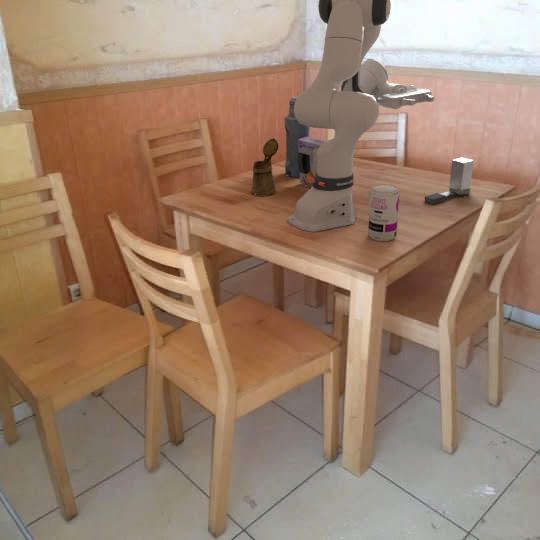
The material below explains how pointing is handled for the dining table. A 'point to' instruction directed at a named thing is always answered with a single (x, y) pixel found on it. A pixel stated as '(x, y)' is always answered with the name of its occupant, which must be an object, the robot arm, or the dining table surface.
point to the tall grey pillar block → (461, 174)
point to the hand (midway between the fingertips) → (423, 101)
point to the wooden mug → (264, 171)
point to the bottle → (293, 140)
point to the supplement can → (383, 212)
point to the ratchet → (445, 196)
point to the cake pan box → (308, 158)
